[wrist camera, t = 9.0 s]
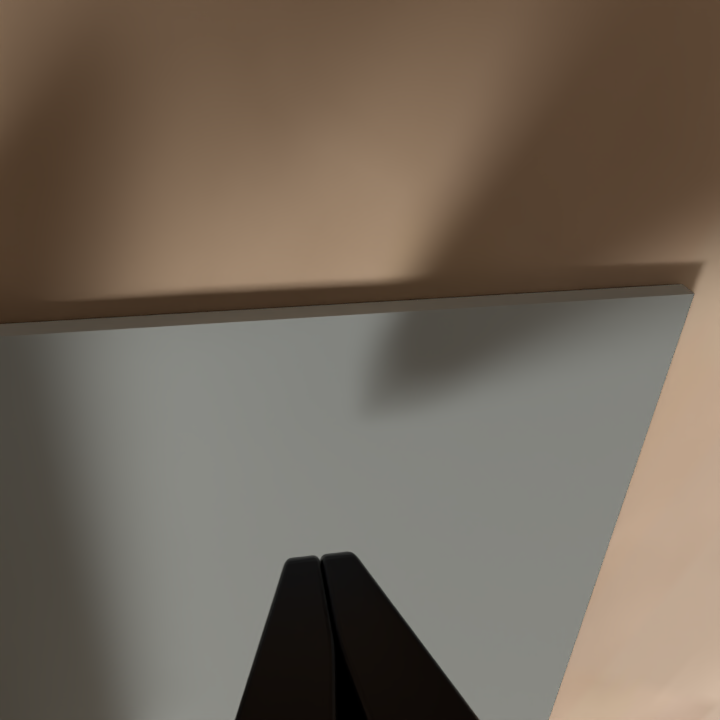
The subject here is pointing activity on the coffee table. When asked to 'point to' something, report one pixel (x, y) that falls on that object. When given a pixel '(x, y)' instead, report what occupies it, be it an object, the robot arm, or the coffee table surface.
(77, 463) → the card
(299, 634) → the robot arm
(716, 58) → the coffee table surface
